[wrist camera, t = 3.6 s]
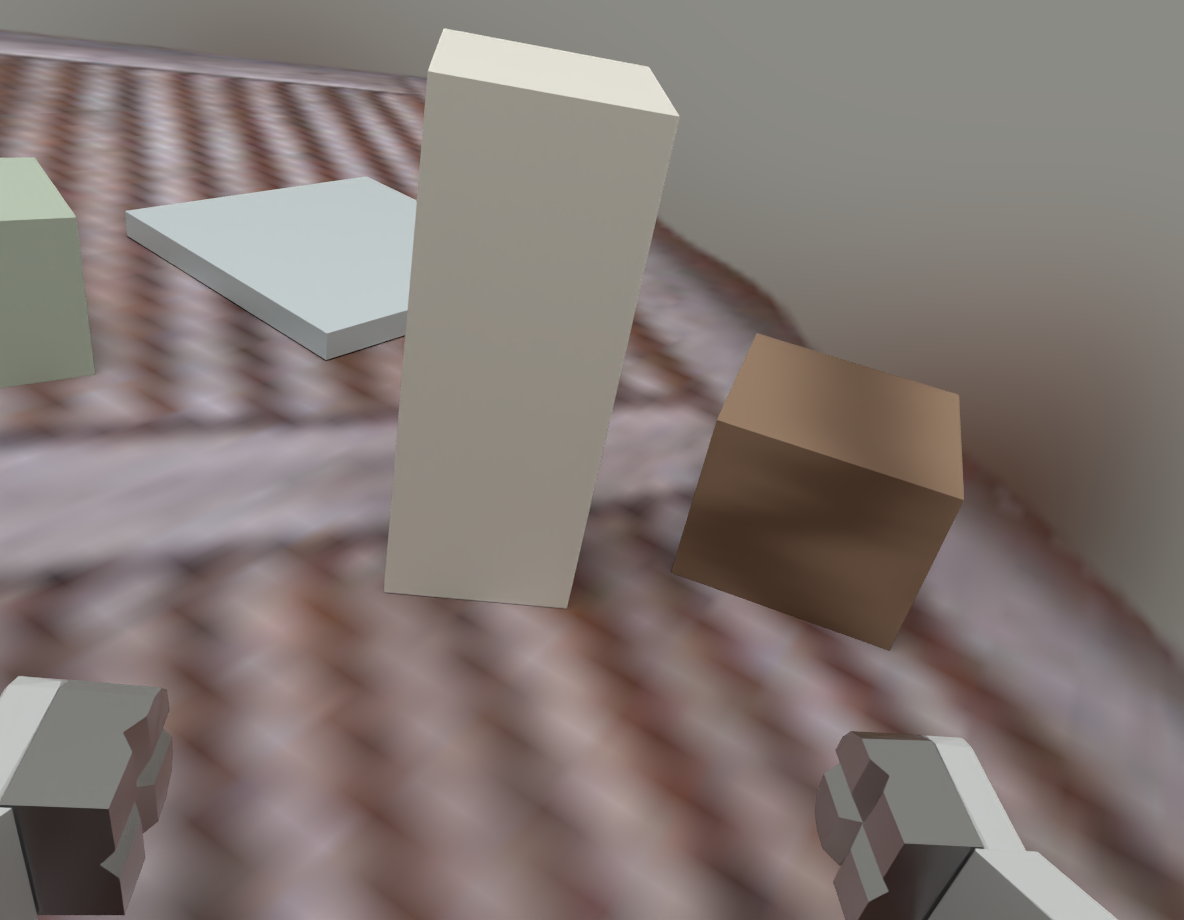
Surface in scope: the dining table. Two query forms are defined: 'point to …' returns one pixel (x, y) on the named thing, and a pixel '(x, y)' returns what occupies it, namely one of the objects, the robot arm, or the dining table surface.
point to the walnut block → (825, 490)
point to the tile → (298, 257)
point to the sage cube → (39, 281)
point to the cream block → (518, 311)
